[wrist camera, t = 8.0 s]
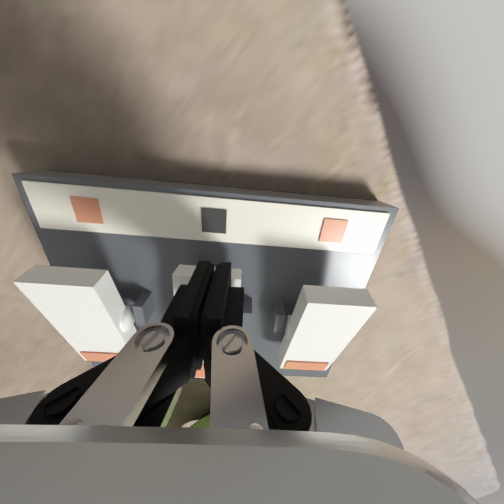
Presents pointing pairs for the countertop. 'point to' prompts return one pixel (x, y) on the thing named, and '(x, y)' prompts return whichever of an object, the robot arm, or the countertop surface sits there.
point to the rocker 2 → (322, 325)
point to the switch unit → (206, 241)
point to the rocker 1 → (81, 308)
